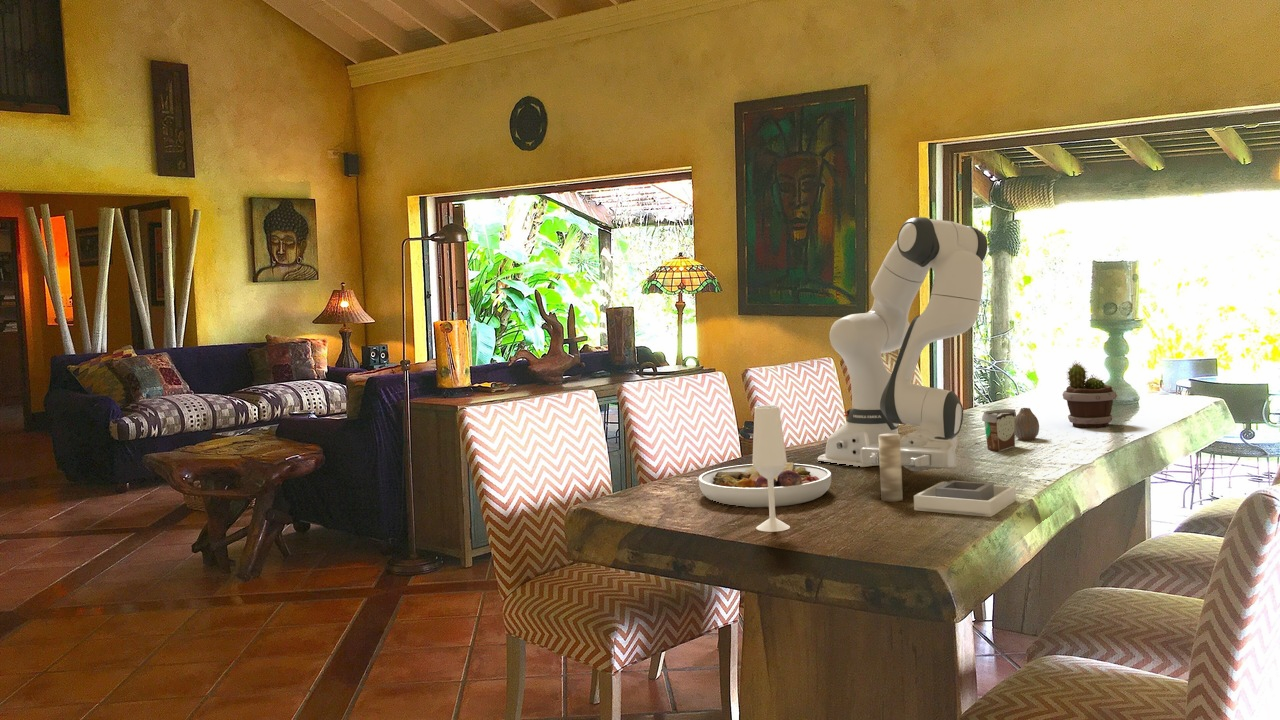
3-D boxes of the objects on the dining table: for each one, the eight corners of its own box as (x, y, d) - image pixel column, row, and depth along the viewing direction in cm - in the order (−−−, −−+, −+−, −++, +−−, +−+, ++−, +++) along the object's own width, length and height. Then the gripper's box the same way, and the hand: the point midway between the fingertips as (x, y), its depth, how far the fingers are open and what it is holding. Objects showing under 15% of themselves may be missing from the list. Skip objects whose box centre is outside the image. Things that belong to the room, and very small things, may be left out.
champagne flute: (751, 525, 199) (744, 406, 197) (782, 522, 200) (776, 403, 199) (762, 533, 192) (756, 410, 191) (795, 529, 194) (789, 407, 192)
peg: (877, 500, 214) (874, 436, 214) (886, 496, 218) (883, 433, 217) (897, 502, 212) (894, 437, 211) (906, 498, 215) (903, 434, 214)
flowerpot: (1110, 421, 303) (1108, 356, 302) (1122, 428, 288) (1120, 360, 287) (1059, 422, 307) (1057, 358, 305) (1069, 430, 292) (1066, 362, 290)
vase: (1041, 440, 277) (1040, 409, 276) (1015, 441, 278) (1014, 410, 278) (1037, 436, 284) (1036, 406, 283) (1011, 437, 285) (1010, 407, 284)
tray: (914, 510, 204) (913, 490, 203) (942, 495, 216) (941, 476, 216) (991, 516, 194) (990, 496, 194) (1015, 500, 206) (1015, 481, 206)
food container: (995, 444, 276) (994, 408, 275) (1017, 445, 271) (1016, 409, 271) (974, 450, 267) (973, 413, 266) (996, 452, 263) (995, 415, 262)
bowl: (678, 494, 236) (676, 461, 235) (789, 478, 247) (787, 446, 246) (737, 517, 208) (735, 480, 207) (858, 498, 219) (856, 463, 218)
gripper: (874, 435, 232) (848, 445, 221) (960, 439, 220) (937, 449, 209) (875, 462, 232) (849, 473, 221) (962, 467, 220) (939, 479, 209)
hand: (893, 461), depth 215 cm, fingers open, 8 cm apart
